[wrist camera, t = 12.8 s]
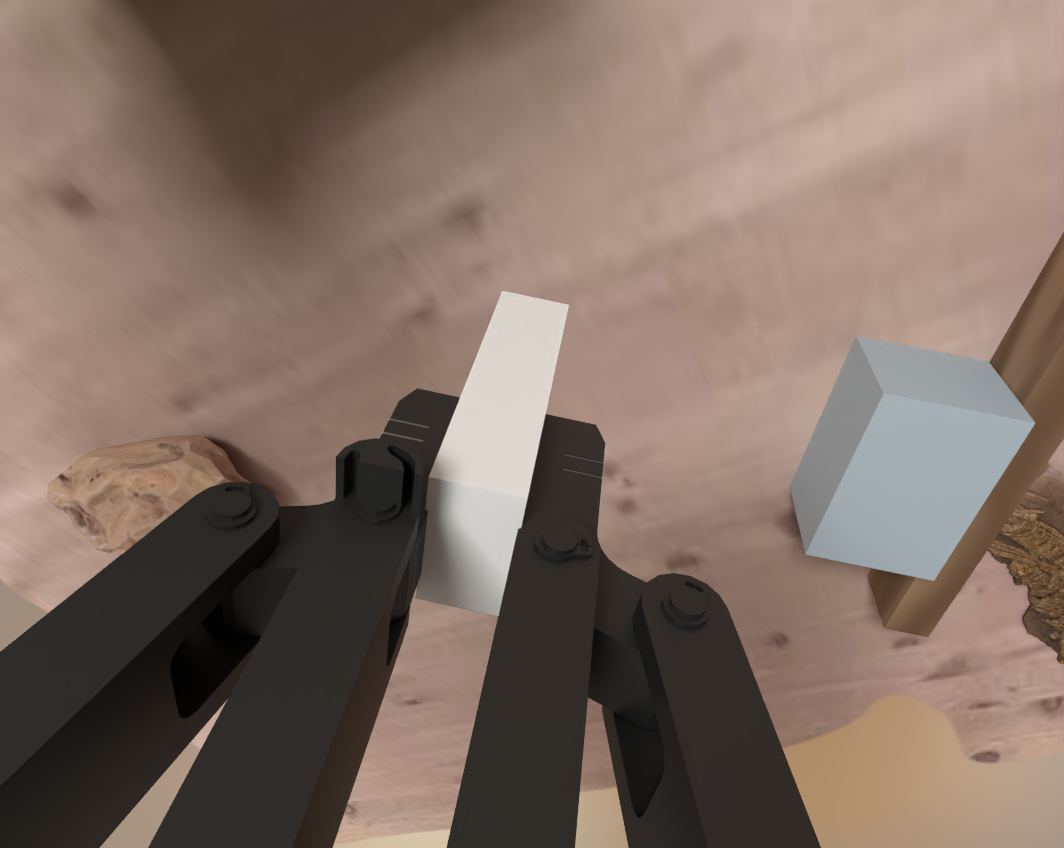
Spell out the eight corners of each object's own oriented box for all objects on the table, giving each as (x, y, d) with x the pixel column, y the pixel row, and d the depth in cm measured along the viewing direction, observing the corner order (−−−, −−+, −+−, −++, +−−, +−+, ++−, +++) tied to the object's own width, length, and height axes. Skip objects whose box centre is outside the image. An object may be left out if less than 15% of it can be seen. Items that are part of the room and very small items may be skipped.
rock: (224, 385, 54) (145, 466, 46) (301, 484, 59) (242, 575, 50) (60, 456, 61) (-35, 538, 52) (140, 541, 65) (64, 629, 57)
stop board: (867, 575, 55) (884, 627, 51) (1077, 207, 39) (1126, 239, 35) (908, 584, 55) (928, 637, 51) (1135, 218, 39) (1191, 251, 35)
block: (789, 485, 52) (805, 554, 46) (855, 334, 45) (883, 393, 39) (903, 508, 51) (934, 580, 46) (987, 360, 45) (1035, 423, 39)
